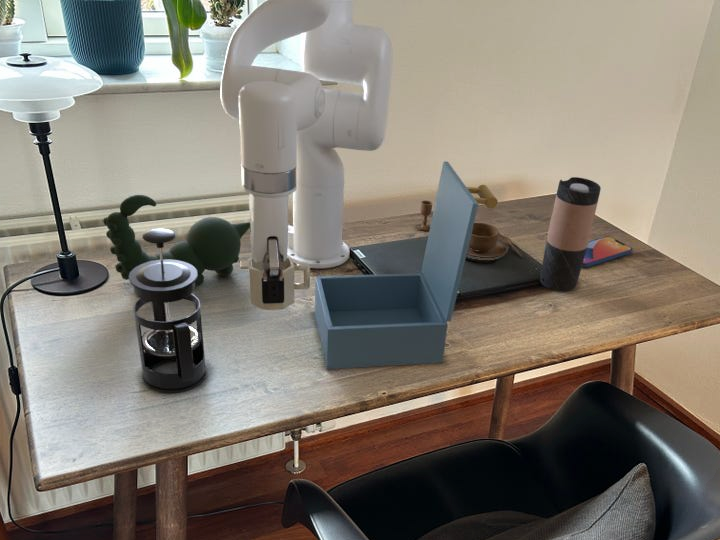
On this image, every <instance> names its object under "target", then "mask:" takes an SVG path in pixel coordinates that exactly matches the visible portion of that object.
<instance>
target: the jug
mask: <svg viewBox="0 0 720 540" xmlns="http://www.w3.org/2000/svg"><path fill="white" fill-rule="evenodd" d="M265 259H269V255H265ZM278 259H279V255H278ZM239 267H240V270H248V287H249V288H248V289H249V290H248V291H249V303H250V305H251V306H253V307H256V308H258V309H260V310H263V311H281V310H285V309H286V308H288V307H290V306H291V305H293V304H294V303H295V290H308V289H310V286H311V285H310V284H311V283H310V282H311V278H310V277H311V268H310V266H309V265H308V264H303V265H297V264H295V263H293V259H292V258H290V257H288V256H287V259H286V260H285V261H284V262H283V260H282V268H283V278H284V302H283V303H270V304H264V303H263V302H262V278H263V262H258V263H256V262H254V261H253V258H252V257H250V258H248V259H247V260H240V261H239ZM268 269H269V263H267V270H268ZM296 271H298V272H299V271H300V272H301V271H303V282H302V283H301V282H298V283H296V282H295V272H296Z"/></svg>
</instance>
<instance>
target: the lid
mask: <svg viewBox="0 0 720 540" xmlns="http://www.w3.org/2000/svg"><path fill="white" fill-rule="evenodd" d="M473 194H474V195H475V194H476V195H478V197H474V196H473ZM498 202H499V201H498V199H497V197H496V195H494V193H493V192H492V191H491V190H490V188H489V187H488V186H487V184H480V185H478V187H471V186H470V187H469V186H466V185H465V183H464V182H463V181H462V179H461V178H460V176H459V175H458V173H457V172H456V171H455V169H454V168H453V167H452V165H451V164H450V162H449V161H446V160H445V161H444V160H443V162H442V167H441V171H440V176H439V183H438V187H437V191H436V196H435V201H434V206H433V210H432V217H431V221H430V225H429V226H430V230H429V231H428V237H427V241H426V246H425V250H424V255H423V261H422V266H421V273H423V275H424V277H425V279H426V281H427V283H428V285H429V287H430V289H431V291H432V294H433V296H434V298H435V300H436V302H437V304H438V306H439V308H440V310H441V312H442V314H443V316H444V318H445V321H446V322H447V323H450V322H452V319H453V314H454V311H455V310H454V309H455V305H456V301H457V297H458V292H459V288H460V284H461V279H462V275H463V271H464V266H465V262H466V260H467V259H466V255H467V250H468V246H469V242H470V238H471V233H472V229H473V225H474V223H475V220H476V216H477V212H478V207H479V205H485V206H486V207H487V208H488V209H494V208H496V207H497V205H498Z"/></svg>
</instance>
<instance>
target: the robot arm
mask: <svg viewBox="0 0 720 540" xmlns="http://www.w3.org/2000/svg"><path fill="white" fill-rule="evenodd" d="M354 6H355V0H264V1H262V2H261V3H260V4H258V6H256V7H255V8H254V9H253V10H252V11H251V12H250V13H249V14H248V15H246V17H245V18H244V19H243V20H242V21H241V22H240V24H239V25H238V26H237V27H236V29H235V30H234V31H233V33H232V35H231V37H230V39H229V42H228V45H227V48H226V49H227V50H226V53H225V59H224V63H223V68H222V74H221V78H220V79H221V80H220V102H221V105H222V108H223V110H224V112H225V113H226V114H227V115H228V116H229V117H230V118H232V119H234V120H236V121H238V122H239V145H240V146H239V147H240V168H241V169H240V170H241V171H240V172H241V188H242V191H244V192H245V193H247V194H249V197H248V198H249V201H248V202H249V207H248V208H249V222H250V228H249V230H250V231H249V232H250V249H251V258H253V261H254V262H256V263H258V262H263V278H262V302H263V303H264V304H270V303H283V302H284V278H283V268H282V260H283V262H284V261H285V260H286V259H287V256H288V257H290V258H292V259H293V263H294V265H303V264H308V265H309V266H310V269H331V268H336V267H337V266H341V265H342V264H344V263H346V262H347V261H348V260H349V258H350V254H351V253H350V252H351V251H350V250H351V249H350V247H349V246H348V244H346V243H345V242H344V241H343V227H344V204H345V175H346V174H345V172H346V171H345V167H344V162H343V160H342V158H341V157H340V155H339V153H338V152H337V150H336V148H338V149H346V150H355V151H364V152H371V151H372V152H373V151H376V150H378V149H380V148H381V146H382V145H383V143H384V141H385V137H386V134H387V127H388V126H387V124H388V116H389V106H390V94H391V85H392V73H393V57H394V54H393V53H394V52H393V51H394V50H393V41H392V38H391V36H390V34H389V33H388V31H386V30H385V29H384V28H380V27H378V26H372V25H365V24H362V25H361V24H355V23H354V19H353V18H354ZM297 36H300V50H299V51H300V55H299V56H300V57H299V58H300V66H301V69H302V71H301V70H300V71H299V70H291V69H281V68H278V67H277V68H276V67H268V66H260V65H259V66H257V65H253V63H254V61H255V59H256V58H257V57H258V56H259V55H260V54H261V53H262V52H263V51H264V50H265V49H267V48H269V47H270V46H272V45H274V44H277V43H278V42H281V41H285V40H288V39H289V38H294V37H297ZM321 81H325V82H332V83H339V84H340V83H341V84H350V85H357V86H360V87H361V88H362V89H363V93H360V92H351V91H343V90H338V89H337V90H336V89H330V88H329V89H328V88H324V87H323V85H322V82H321ZM291 194H292V225H290V224H289V195H291ZM265 255H269V259H265ZM278 255H279V259H278ZM267 263H269V269H268V270H267Z"/></svg>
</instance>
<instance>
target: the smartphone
mask: <svg viewBox="0 0 720 540" xmlns="http://www.w3.org/2000/svg"><path fill="white" fill-rule="evenodd" d="M632 253H633V248H632V246H630V245H628V244H626V243H624V242H622V241H620V240H619V239H616V238H614V237H613V236H607V235H606V236H603V237H599V238H596V239H592V240H589V242H588V246H587V250H586V253H585V257H584V260H583V264H582V268H589V267H592V266H595V265H599V264H601V263H602V264H603V263H605V262H608V261H611V260H615V259H617V258H621V257H624V256H627V255H630V254H632Z"/></svg>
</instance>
